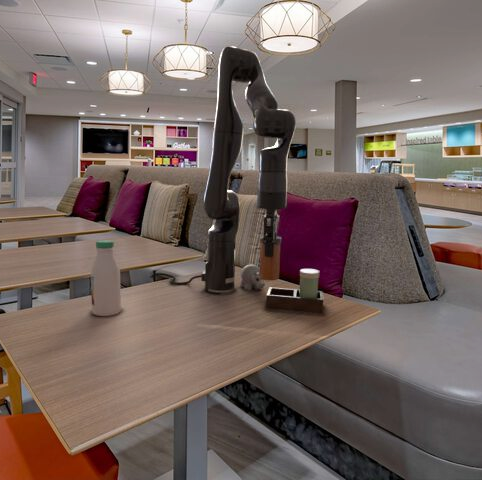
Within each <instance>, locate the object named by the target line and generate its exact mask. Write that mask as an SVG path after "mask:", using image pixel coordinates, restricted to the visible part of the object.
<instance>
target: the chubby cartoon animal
mask: <svg viewBox="0 0 482 480" xmlns="http://www.w3.org/2000/svg"><path fill="white" fill-rule="evenodd" d="M240 278H241V280H240V283H239V284H240V287H241V288H244V290H246V291H252V290H253V289H254V290H261V289H264V288H265V286H266V283H265V280H263V279H260V266H258V265H256V264H247V265H245V266H244V267H243V268H242V270H241V272H240Z"/></svg>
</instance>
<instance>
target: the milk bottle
mask: <svg viewBox="0 0 482 480" xmlns="http://www.w3.org/2000/svg"><path fill="white" fill-rule="evenodd" d="M114 243H115V242H114V241H113V240H110V239H103V240H102V239H101V240H96V242H95V250H96V256H95V259H94V261H93V263H92V266H91V269H90V292H91V293H90V294H91V311H92V312H91V313H92V314H93V315H95V316H97V317H109V316H114V315H116V314H119V313H120V312H121V310H122V295H121V291H122V289H121V270H120V265H119V264H118V261H117V260H116V257H115V254H114V249H115V248H114V246H115V244H114Z"/></svg>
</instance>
